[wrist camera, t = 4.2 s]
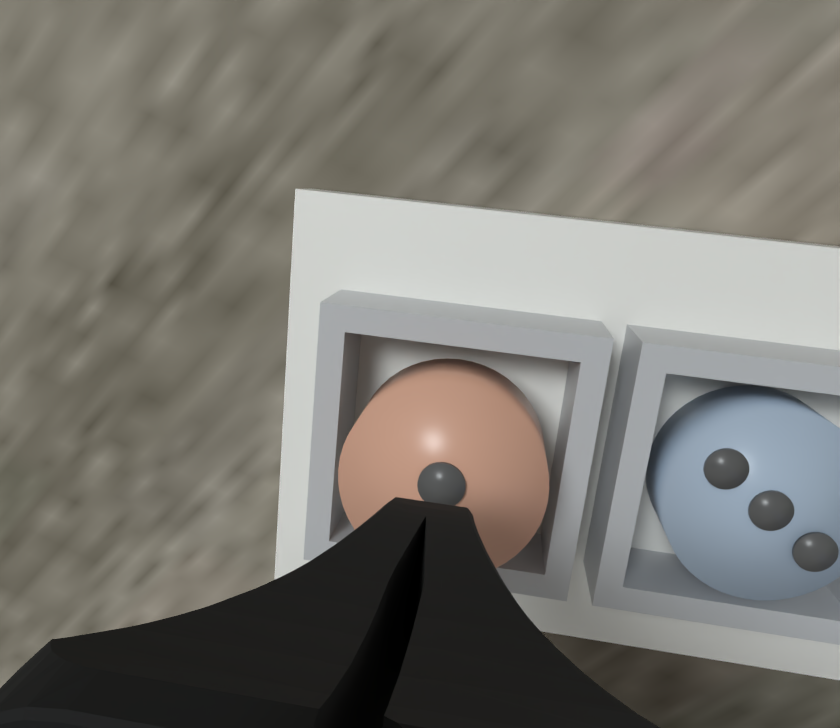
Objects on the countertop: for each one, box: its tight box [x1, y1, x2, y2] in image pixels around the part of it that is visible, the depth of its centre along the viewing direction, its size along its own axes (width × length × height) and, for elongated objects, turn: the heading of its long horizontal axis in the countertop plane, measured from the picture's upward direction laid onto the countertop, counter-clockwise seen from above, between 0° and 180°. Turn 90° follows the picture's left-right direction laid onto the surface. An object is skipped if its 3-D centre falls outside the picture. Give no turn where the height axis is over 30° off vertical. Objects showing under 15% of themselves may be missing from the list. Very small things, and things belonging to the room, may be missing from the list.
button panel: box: [275, 189, 840, 680], centre depth 17 cm, size 11×23×4 cm, turn 84°
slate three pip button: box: [646, 385, 840, 600], centre depth 16 cm, size 4×4×2 cm
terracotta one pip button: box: [338, 358, 549, 568], centre depth 15 cm, size 4×4×2 cm
